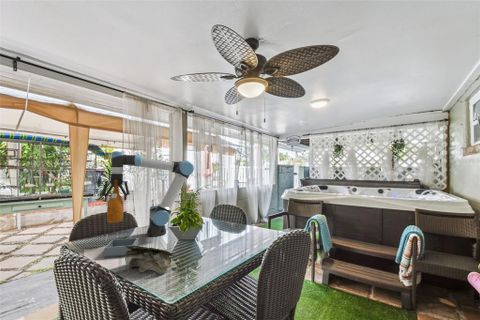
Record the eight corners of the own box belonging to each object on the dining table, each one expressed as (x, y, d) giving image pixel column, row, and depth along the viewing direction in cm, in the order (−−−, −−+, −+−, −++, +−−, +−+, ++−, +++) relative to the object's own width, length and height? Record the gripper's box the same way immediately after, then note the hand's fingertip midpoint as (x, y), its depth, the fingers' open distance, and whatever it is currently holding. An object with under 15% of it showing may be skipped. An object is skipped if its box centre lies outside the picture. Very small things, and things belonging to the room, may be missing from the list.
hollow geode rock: (125, 274, 117) (108, 261, 108) (138, 251, 126) (123, 238, 117) (168, 281, 109) (154, 268, 99) (178, 256, 118) (167, 242, 109)
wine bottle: (103, 222, 148) (105, 179, 149) (117, 219, 156) (119, 178, 158) (112, 224, 143) (113, 179, 144) (126, 221, 151) (127, 178, 153)
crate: (138, 246, 146) (138, 237, 146) (133, 255, 131) (133, 245, 131) (112, 248, 142) (112, 239, 142) (103, 258, 126) (104, 247, 127)
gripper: (135, 173, 158) (134, 203, 157) (101, 173, 152) (99, 204, 151) (132, 173, 150) (131, 205, 149) (97, 173, 145) (95, 206, 144)
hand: (115, 205), depth 150 cm, fingers closed on wine bottle, 9 cm apart
